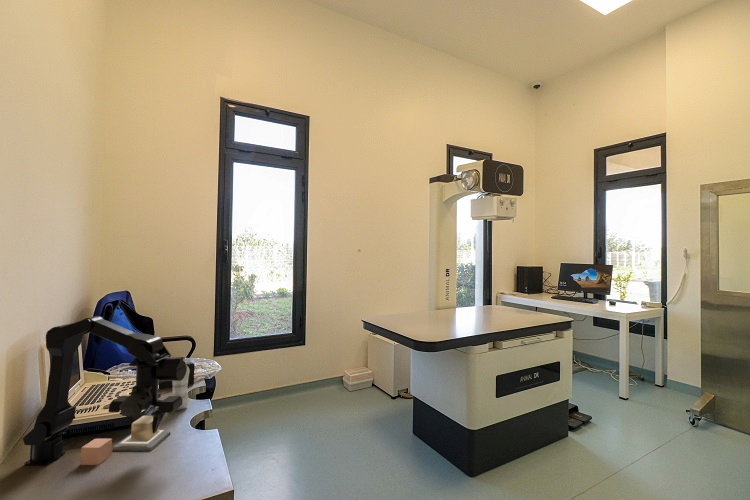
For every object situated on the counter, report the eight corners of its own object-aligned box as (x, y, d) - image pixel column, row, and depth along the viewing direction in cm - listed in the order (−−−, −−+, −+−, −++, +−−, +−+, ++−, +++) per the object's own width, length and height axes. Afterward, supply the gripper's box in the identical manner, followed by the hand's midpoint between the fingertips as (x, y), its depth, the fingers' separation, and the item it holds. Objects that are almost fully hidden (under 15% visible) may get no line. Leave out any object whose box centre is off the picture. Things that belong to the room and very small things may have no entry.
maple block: (131, 440, 99) (131, 423, 99) (142, 432, 104) (143, 415, 104) (148, 441, 99) (149, 423, 99) (158, 432, 104) (159, 415, 104)
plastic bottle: (167, 413, 132) (169, 361, 133) (172, 406, 139) (174, 356, 139) (186, 411, 134) (187, 360, 135) (190, 404, 140) (192, 355, 141)
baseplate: (112, 450, 106) (112, 444, 106) (134, 434, 116) (134, 428, 116) (151, 450, 106) (151, 444, 107) (170, 434, 116) (170, 429, 117)
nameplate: (193, 383, 165) (194, 362, 165) (193, 384, 163) (194, 363, 164) (141, 391, 154) (142, 368, 154) (141, 392, 153) (142, 370, 153)
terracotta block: (80, 464, 99) (81, 447, 99) (94, 455, 104) (95, 438, 104) (98, 465, 99) (98, 447, 99) (111, 455, 104) (112, 438, 104)
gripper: (94, 389, 94) (91, 447, 94) (162, 390, 94) (160, 447, 94) (123, 376, 105) (121, 427, 105) (184, 376, 106) (182, 428, 105)
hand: (145, 432), depth 102 cm, fingers closed on maple block, 5 cm apart
